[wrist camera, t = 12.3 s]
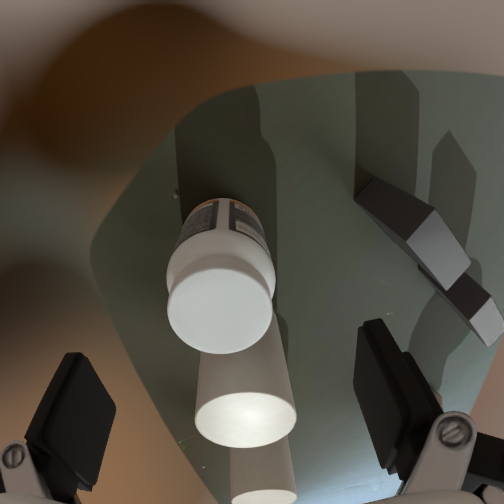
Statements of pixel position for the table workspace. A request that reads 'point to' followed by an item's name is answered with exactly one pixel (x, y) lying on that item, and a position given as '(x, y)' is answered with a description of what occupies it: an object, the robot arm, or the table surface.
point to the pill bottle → (220, 278)
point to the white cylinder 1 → (246, 394)
